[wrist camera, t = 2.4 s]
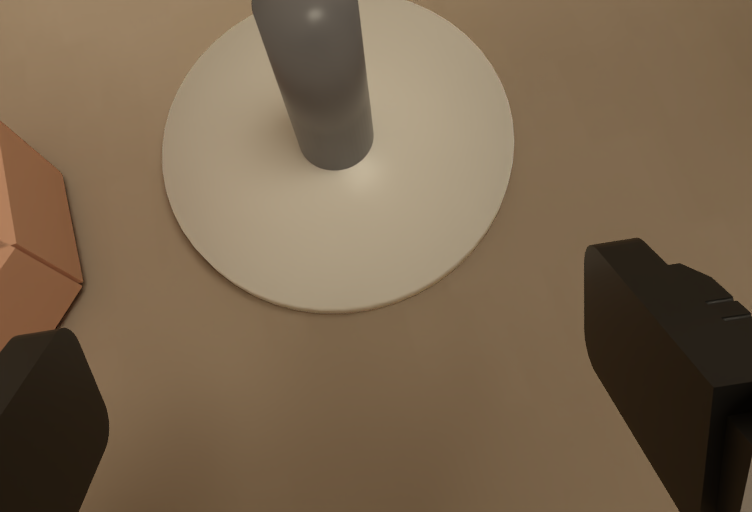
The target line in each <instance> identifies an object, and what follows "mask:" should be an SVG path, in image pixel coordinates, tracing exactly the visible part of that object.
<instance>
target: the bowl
mask: <svg viewBox="0 0 752 512" xmlns="http://www.w3.org/2000/svg"><path fill="white" fill-rule="evenodd" d="M82 282H83V277H82V272H81V267H80V262H79V257H78V252H77V247H76V242H75V237H74V232H73V226H72V221H71V216H70V211H69V206H68V201H67V196H66V191H65V186H64V180H63V175H62V174H61V173H60V171H59V170H58V169H56V168H55V167H54V166H53V165H52V164H50V163H49V162H48V161H47V160H46V159H45V158H43V157H42V156H41V155H40V154H39V153H38V152H36V151H35V150H34V149H33V148H32V147H31V146H29V145H28V144H27V143H26V142H25V141H23V140H22V139H21V138H20V137H19V136H18V135H16V134H15V133H14V132H13V131H12V130H11V129H9V128H8V127H7V126H6V125H5V124H4V123H2V122H1V121H0V352H1V351H2V349H3V348H4V347H5V345H6V344H7V343H8V341H9V340H10V339H11V338H13V337H14V336H17V335H22V334H29V333H35V332H41V331H47V330H54V329H55V328H56V326H57V325H58V323H59V322H60V320H61V319H62V317H63V316H64V314H65V312H66V311H67V309H68V308H69V306H70V305H71V303H72V302H73V300H74V298H75V297H76V295H77V294H78V292H79V291H80V289H81V288H82V285H80V284H79V283H82Z"/></svg>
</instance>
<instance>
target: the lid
mask: <svg viewBox="0 0 752 512" xmlns="http://www.w3.org/2000/svg"><path fill="white" fill-rule="evenodd" d="M252 11H253V15H251V16H249V17H247V18H246V19H244V20H242V21H241V22H239V23H238V24H236V25H235V26H233V27H232V28H230V29H229V30H228V31H227V32H225V33H224V34H223V35H222V36H221V37H219V38H218V39H217V40H216V41H215V42H214V43H213V44H212V45H211V46H210V47H209V48H208V49H207V50H206V51H205V52H204V53H203V54H202V55H201V56H200V57H199V59H198V60H197V61H196V63H195V64H194V65H193V67H192V68H191V69H190V71H189V72H188V73H187V75H186V77H185V79H184V80H183V82H182V84H181V86H180V87H179V89H178V91H177V93H176V96H175V98H174V100H173V103H172V105H171V108H170V110H169V114H168V118H167V122H166V125H165V129H164V137H163V145H162V171H163V177H164V182H165V188H166V193H167V196H168V199H169V202H170V205H171V208H172V211H173V213H174V215H175V217H176V219H177V221H178V223H179V225H180V227H181V229H182V231H183V232H184V233H185V235H186V236H187V238H188V239H189V240H190V242H191V243H192V245H193V246H194V247H195V249H196V250H197V251H198V252H199V253H200V254H201V255H202V256H203V257H204V258H205V259H206V260H207V261H208V262H209V263H210V264H211V265H212V266H213V267H214V268H215V269H216V270H217V271H218V272H219V273H220V274H221V275H223V276H224V277H225V278H226V279H228V280H229V281H230V282H232V283H233V284H234V285H236V286H237V287H239V288H241V289H243V290H244V291H246V292H248V293H249V294H251V295H253V296H255V297H257V298H260V299H262V300H265V301H267V302H270V303H272V304H274V305H278V306H281V307H285V308H289V309H293V310H297V311H303V312H311V313H319V314H348V313H355V312H362V311H370V310H374V309H377V308H381V307H385V306H389V305H392V304H395V303H398V302H400V301H403V300H405V299H407V298H410V297H412V296H415V295H417V294H419V293H420V292H422V291H424V290H426V289H427V288H429V287H431V286H433V285H434V284H436V283H438V282H439V281H440V280H442V279H443V278H444V277H446V276H447V275H448V274H450V273H451V272H452V271H453V270H455V269H456V268H457V267H458V266H459V265H460V264H461V263H462V262H463V261H464V260H465V259H466V258H467V257H468V256H469V255H470V254H471V253H472V252H473V251H474V249H475V248H476V247H477V245H478V244H479V243H480V242H481V240H482V239H483V238H484V236H485V235H486V233H487V232H488V230H489V228H490V226H491V225H492V223H493V221H494V219H495V217H496V216H497V213H498V211H499V208H500V206H501V203H502V200H503V198H504V195H505V192H506V189H507V186H508V182H509V178H510V174H511V169H512V165H513V154H514V129H513V119H512V115H511V110H510V106H509V101H508V99H507V96H506V93H505V91H504V88H503V85H502V83H501V81H500V79H499V77H498V75H497V74H496V72H495V70H494V68H493V66H492V65H491V63H490V62H489V61H488V59H487V58H486V57H485V55H484V54H483V53H482V51H481V50H480V49H479V48H478V47H477V45H476V44H475V43H474V42H473V41H472V40H471V39H470V38H469V37H468V36H467V35H466V34H465V33H463V32H462V31H461V30H459V29H458V28H457V27H456V26H454V25H453V24H452V23H451V22H449V21H448V20H446V19H444V18H443V17H441V16H439V15H438V14H436V13H434V12H433V11H431V10H429V9H426V8H424V7H422V6H420V5H417V4H415V3H413V2H410V1H407V0H252Z"/></svg>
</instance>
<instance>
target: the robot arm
mask: <svg viewBox="0 0 752 512" xmlns="http://www.w3.org/2000/svg"><path fill="white" fill-rule="evenodd" d="M584 332H585V341H586V347H587V351H588V355H589V359H590V361H591V364H592V366H593V369H594V371H595V372H596V374H597V376H598V377H599V379H600V381H601V382H602V384H603V386H604V387H605V389H606V391H607V392H608V394H609V396H610V397H611V399H612V401H613V402H614V404H615V405H616V407H617V409H618V410H619V412H620V414H621V415H622V417H623V419H624V420H625V422H626V424H627V425H628V427H629V429H630V430H631V432H632V434H633V435H634V437H635V439H636V440H637V442H638V443H639V445H640V447H641V448H642V450H643V452H644V453H645V455H646V457H647V458H648V460H649V462H650V463H651V465H652V467H653V468H654V470H655V472H656V473H657V475H658V477H659V478H660V480H661V481H662V483H663V485H664V486H665V488H666V490H667V491H668V493H669V495H670V496H671V498H672V500H673V501H674V503H675V505H676V506H677V508H678V510H679V511H680V512H752V317H751V313H750V312H749V311H748V310H747V309H746V308H745V307H744V306H743V305H741V304H740V303H739V302H738V301H734V300H733V296H731V295H730V294H729V293H728V292H727V291H726V290H725V289H724V288H723V287H722V286H720V285H719V284H718V283H717V282H716V281H715V280H714V279H713V278H712V277H709V276H707V275H705V274H703V273H700V272H698V271H696V270H694V269H692V268H689V267H687V266H685V265H683V264H680V263H678V264H672V265H667V264H666V263H665V262H664V261H663V260H662V259H661V258H660V257H659V256H658V255H657V254H656V253H655V252H654V251H653V250H652V249H651V248H650V247H649V246H648V245H647V244H646V243H645V242H644V241H643V240H642V239H640V238H632V239H626V240H620V241H613V242H607V243H601V244H594V245H590V246H588V247H587V249H586V252H585V258H584ZM108 436H109V419H108V413H107V409H106V406H105V403H104V401H103V399H102V396H101V394H100V391H99V389H98V387H97V384H96V382H95V379H94V377H93V375H92V372H91V370H90V367H89V365H88V363H87V360H86V358H85V355H84V353H83V351H82V348H81V346H80V343H79V341H78V339H77V337H76V336H75V334H74V333H73V332H72V331H71V330H69V329H67V328H60V329H54V330H47V331H41V332H35V333H29V334H22V335H17V336H14V337H13V338H11V339H10V340H9V341H8V343H7V344H6V345H5V347H4V348H3V349H2V351H1V352H0V512H79V509H80V507H81V505H82V502H83V500H84V498H85V495H86V493H87V491H88V488H89V486H90V484H91V481H92V479H93V477H94V474H95V472H96V470H97V467H98V465H99V463H100V460H101V458H102V455H103V453H104V451H105V448H106V446H107V442H108Z"/></svg>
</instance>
